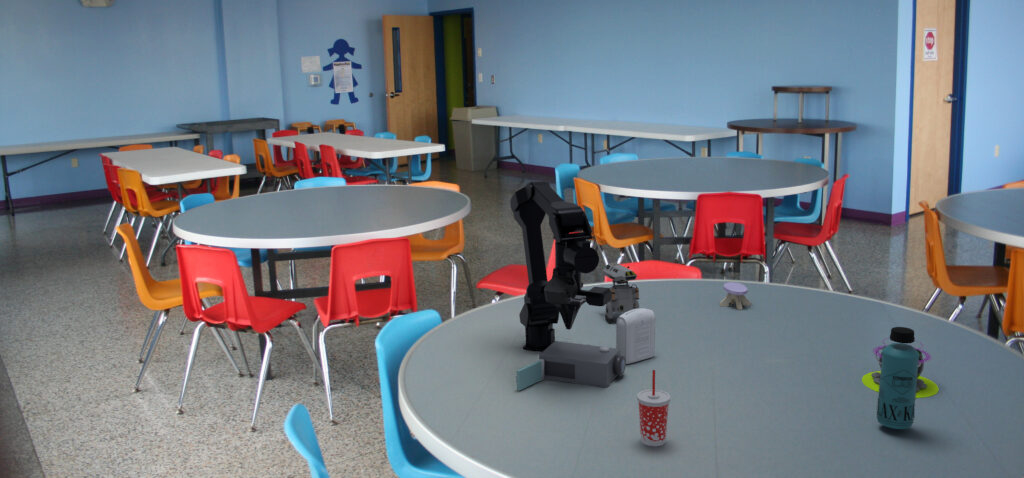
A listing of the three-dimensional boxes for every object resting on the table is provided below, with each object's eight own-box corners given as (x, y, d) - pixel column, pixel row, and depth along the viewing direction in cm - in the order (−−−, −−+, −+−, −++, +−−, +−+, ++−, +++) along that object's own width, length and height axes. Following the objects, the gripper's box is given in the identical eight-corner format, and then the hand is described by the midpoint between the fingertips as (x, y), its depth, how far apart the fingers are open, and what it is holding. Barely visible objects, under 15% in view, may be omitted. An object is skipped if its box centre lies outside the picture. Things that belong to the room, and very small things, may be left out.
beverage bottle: (868, 423, 155) (875, 324, 151) (901, 420, 156) (909, 322, 152) (887, 438, 149) (894, 335, 145) (921, 435, 149) (929, 333, 145)
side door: (540, 377, 182) (540, 358, 181) (545, 379, 181) (545, 359, 180) (515, 389, 176) (515, 369, 175) (520, 391, 175) (520, 371, 174)
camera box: (539, 378, 183) (538, 352, 181) (555, 362, 192) (555, 338, 190) (614, 388, 175) (614, 362, 174) (627, 372, 184) (627, 346, 183)
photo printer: (645, 352, 197) (645, 303, 194) (657, 356, 193) (658, 307, 191) (613, 361, 191) (613, 311, 189) (625, 366, 188) (625, 316, 185)
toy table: (717, 300, 237) (717, 281, 236) (748, 301, 236) (749, 282, 235) (721, 310, 228) (721, 291, 227) (753, 311, 226) (754, 291, 225)
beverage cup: (662, 451, 147) (663, 379, 144) (631, 443, 150) (631, 373, 147) (674, 437, 152) (675, 367, 149) (644, 430, 155) (644, 362, 152)
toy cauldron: (846, 379, 177) (849, 331, 175) (895, 367, 183) (899, 321, 181) (903, 404, 164) (907, 353, 161) (955, 390, 169) (959, 340, 167)
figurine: (629, 310, 230) (629, 259, 227) (642, 323, 219) (642, 269, 215) (598, 313, 228) (597, 262, 225) (609, 325, 217) (609, 272, 214)
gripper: (514, 267, 176) (516, 334, 180) (593, 275, 168) (594, 346, 171) (536, 255, 186) (537, 319, 189) (612, 263, 178) (612, 330, 181)
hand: (568, 329), depth 183 cm, fingers closed
